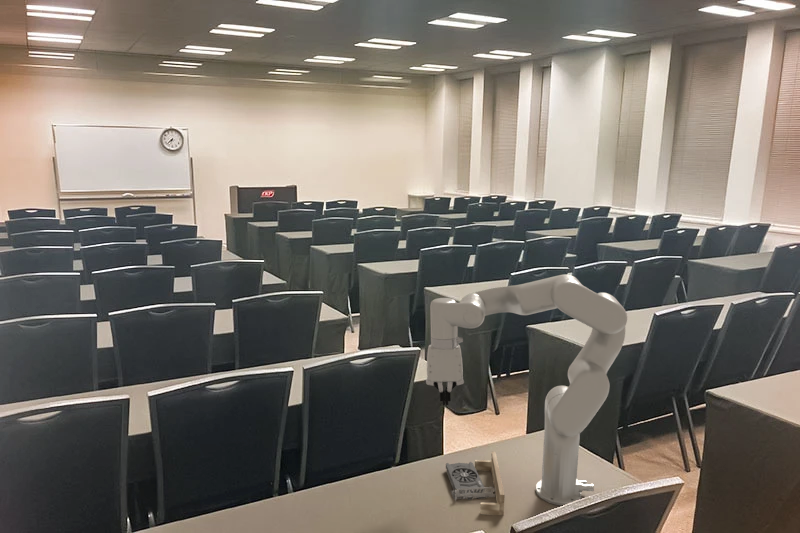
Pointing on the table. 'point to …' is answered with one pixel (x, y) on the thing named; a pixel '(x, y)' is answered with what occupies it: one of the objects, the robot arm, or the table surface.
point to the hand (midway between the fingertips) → (445, 403)
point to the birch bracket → (494, 468)
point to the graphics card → (467, 482)
